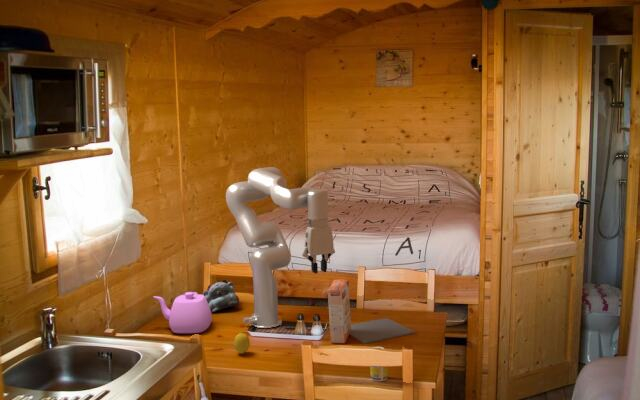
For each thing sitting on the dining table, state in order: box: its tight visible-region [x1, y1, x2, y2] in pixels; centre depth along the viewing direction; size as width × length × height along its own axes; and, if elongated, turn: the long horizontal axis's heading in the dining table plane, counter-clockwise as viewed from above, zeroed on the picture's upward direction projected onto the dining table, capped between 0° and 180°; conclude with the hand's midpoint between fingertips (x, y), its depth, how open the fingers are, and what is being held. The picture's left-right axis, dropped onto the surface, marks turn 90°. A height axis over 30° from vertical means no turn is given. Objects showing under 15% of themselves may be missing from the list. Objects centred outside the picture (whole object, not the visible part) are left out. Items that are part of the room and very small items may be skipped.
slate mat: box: [348, 317, 416, 344], centre depth 272 cm, size 23×20×1 cm
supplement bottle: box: [369, 346, 388, 382], centre depth 225 cm, size 6×6×10 cm
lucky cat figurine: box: [202, 279, 240, 314], centre depth 305 cm, size 15×12×14 cm
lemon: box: [233, 332, 250, 355], centre depth 250 cm, size 6×6×8 cm
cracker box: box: [327, 279, 352, 344], centre depth 263 cm, size 14×6×21 cm, turn 168°
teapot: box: [152, 291, 213, 334], centre depth 280 cm, size 23×21×15 cm
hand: (319, 271), depth 257 cm, fingers open, 3 cm apart
